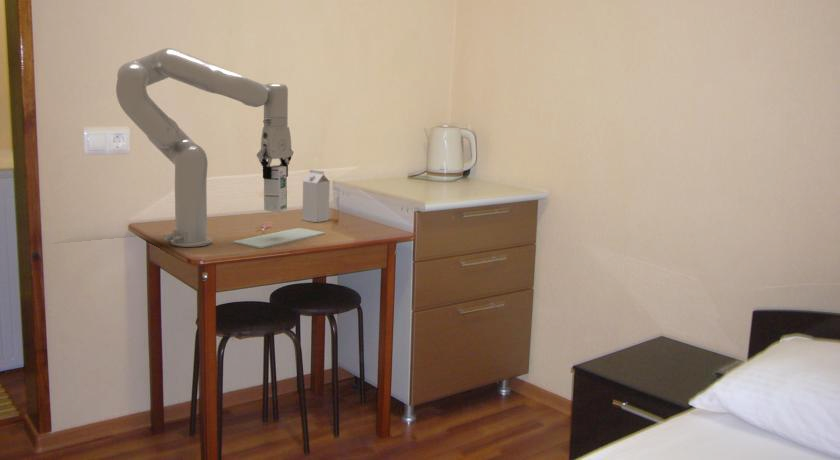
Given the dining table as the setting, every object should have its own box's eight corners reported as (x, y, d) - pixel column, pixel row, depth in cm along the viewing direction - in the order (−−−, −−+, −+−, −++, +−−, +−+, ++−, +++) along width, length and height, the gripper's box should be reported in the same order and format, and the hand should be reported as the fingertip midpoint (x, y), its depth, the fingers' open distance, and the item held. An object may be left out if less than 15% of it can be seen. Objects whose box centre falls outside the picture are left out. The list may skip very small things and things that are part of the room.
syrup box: (280, 212, 250) (280, 167, 248) (263, 210, 252) (263, 166, 249) (287, 209, 256) (287, 165, 253) (270, 208, 257) (270, 164, 254)
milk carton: (315, 218, 298) (316, 169, 295) (329, 220, 294) (330, 171, 291) (302, 220, 293) (303, 170, 289) (316, 222, 288) (317, 172, 285)
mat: (260, 248, 242) (260, 246, 242) (232, 243, 248) (232, 241, 248) (325, 234, 269) (325, 232, 268) (298, 229, 275) (298, 227, 275)
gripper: (265, 124, 239) (265, 181, 243) (302, 122, 254) (301, 176, 257) (247, 122, 243) (247, 178, 246) (285, 121, 258) (284, 174, 261)
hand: (275, 177), depth 252 cm, fingers closed on syrup box, 7 cm apart
